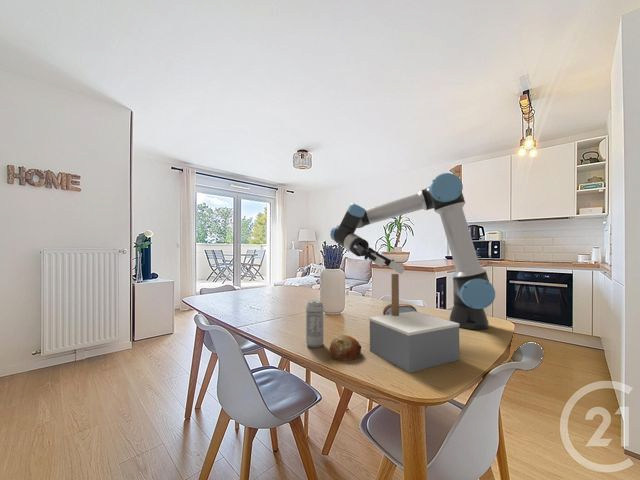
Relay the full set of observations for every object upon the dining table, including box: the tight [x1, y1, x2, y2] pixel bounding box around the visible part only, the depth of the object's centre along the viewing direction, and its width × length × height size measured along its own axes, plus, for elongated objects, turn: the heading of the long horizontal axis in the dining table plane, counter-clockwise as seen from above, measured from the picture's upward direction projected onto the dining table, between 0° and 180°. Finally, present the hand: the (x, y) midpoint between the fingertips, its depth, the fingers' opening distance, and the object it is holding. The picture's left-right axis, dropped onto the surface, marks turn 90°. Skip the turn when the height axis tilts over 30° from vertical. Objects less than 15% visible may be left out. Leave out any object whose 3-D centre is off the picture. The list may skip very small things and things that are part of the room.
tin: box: [382, 303, 418, 316], centre depth 125 cm, size 15×3×8 cm, turn 84°
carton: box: [369, 320, 461, 374], centre depth 88 cm, size 20×18×10 cm
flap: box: [367, 273, 460, 336], centre depth 89 cm, size 20×18×15 cm
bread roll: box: [328, 334, 362, 361], centre depth 89 cm, size 10×10×8 cm
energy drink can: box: [305, 300, 324, 348], centre depth 98 cm, size 6×6×15 cm
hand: (393, 267), depth 104 cm, fingers open, 13 cm apart
